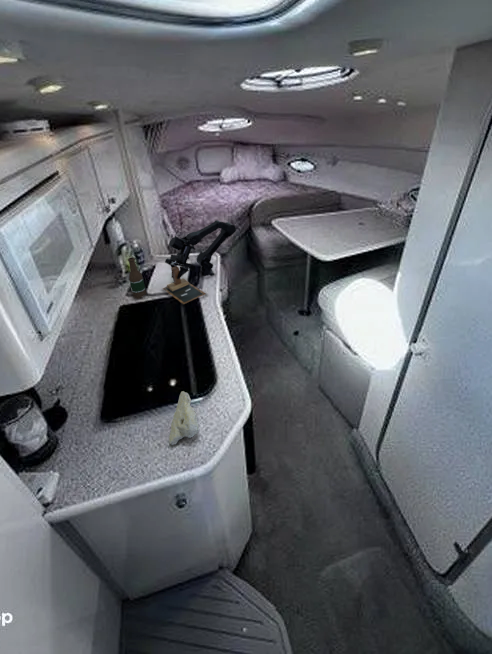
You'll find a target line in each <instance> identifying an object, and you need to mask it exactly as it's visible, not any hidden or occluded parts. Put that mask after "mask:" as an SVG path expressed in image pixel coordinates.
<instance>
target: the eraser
mask: <svg viewBox="0 0 492 654" xmlns="http://www.w3.org/2000/svg"><path fill="white" fill-rule="evenodd" d="M170 270H171V277H172V276H173V278H172V281H173V282H170V283H168V284H166V287H167V288H168V290H170V291H171V292H172V293H173V292H176V291H178V290H180V289H183V288H185V287H187V286H189V283H190V282H189V281H188V280H186V279H185V278H182V277H180V278H179V279H177V277H178V274H179V271H180V267H179V266H175V267H173V268H171V267H170ZM188 282H189V283H188ZM171 292H170V293H171Z"/></svg>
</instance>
